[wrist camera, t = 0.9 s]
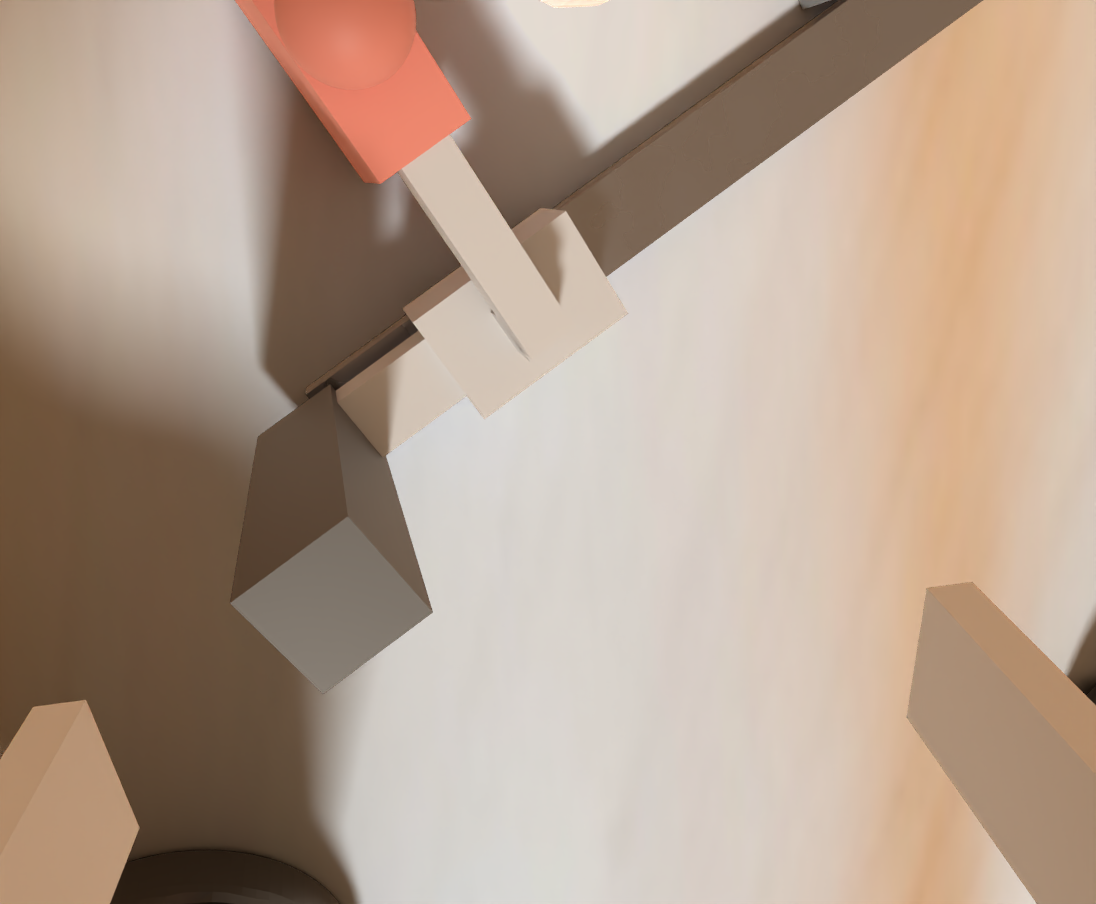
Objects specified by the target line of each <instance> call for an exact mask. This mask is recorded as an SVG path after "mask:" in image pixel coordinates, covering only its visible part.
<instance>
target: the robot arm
mask: <svg viewBox="0 0 1096 904" xmlns="http://www.w3.org/2000/svg"><path fill="white" fill-rule="evenodd" d="M907 719H908V720H909V721H910V723H911V724H912V726H913V727H914V729H915V730H916V731H917V733H918V734H919V736H920V737H921V739H922V740H923V741H924V743H925V744H926V746H927V747H928V749H929V750H930V751H931V753H932V754H933V756H934V757H935V759H936V760H937V761H938V763H939V764H940V766H941V767H942V769H943V770H944V771H945V773H946V774H947V776H948V777H949V779H950V780H951V781H952V783H953V784H954V786H955V787H956V789H957V790H958V791H959V793H960V794H961V796H962V797H963V799H964V800H965V801H966V803H967V804H968V806H969V807H970V809H971V810H972V812H973V813H974V814H975V816H976V817H977V819H978V820H979V822H980V823H981V824H982V826H983V827H984V829H985V830H986V832H987V833H988V834H989V836H990V837H991V839H992V840H993V842H994V843H995V844H996V846H997V847H998V849H999V850H1000V852H1001V853H1002V854H1003V856H1004V857H1005V859H1006V860H1007V862H1008V863H1009V864H1010V866H1011V867H1012V869H1013V870H1014V872H1015V873H1016V874H1017V876H1018V877H1019V879H1020V880H1021V882H1022V883H1023V884H1024V886H1025V887H1026V889H1027V890H1028V892H1029V893H1030V894H1031V896H1032V897H1033V899H1034V900H1035V902H1036V903H1037V904H1096V705H1095V704H1094V703H1093V702H1092V701H1091V700H1090V699H1089V698H1088V697H1087V696H1086V695H1085V694H1084V693H1083V692H1082V691H1081V690H1080V689H1079V688H1078V687H1077V686H1076V685H1075V684H1074V683H1073V682H1072V681H1071V680H1070V679H1069V678H1068V677H1067V676H1066V675H1065V674H1064V673H1063V672H1062V671H1061V670H1060V669H1059V668H1058V667H1057V666H1056V665H1055V664H1054V663H1053V662H1052V661H1051V660H1050V659H1049V658H1048V657H1047V656H1046V655H1045V654H1044V653H1043V652H1042V651H1041V650H1040V649H1039V648H1038V647H1037V646H1036V645H1035V644H1034V643H1033V642H1032V641H1031V640H1030V639H1029V638H1028V637H1027V636H1026V635H1025V634H1024V633H1023V632H1022V631H1021V630H1020V629H1019V628H1018V627H1017V626H1016V625H1015V624H1014V623H1013V622H1012V621H1011V620H1010V619H1009V618H1008V617H1007V616H1006V615H1005V614H1004V613H1003V612H1002V611H1001V610H1000V609H999V608H998V607H997V606H996V605H995V604H994V603H993V602H992V601H991V600H990V599H989V598H988V597H987V596H986V595H985V594H984V593H983V592H982V591H981V590H980V589H979V588H978V587H977V586H976V585H975V584H974V583H973V582H968V583H961V584H953V585H946V586H938V587H931V588H927V589H926V596H925V602H924V609H923V615H922V622H921V628H920V634H919V641H918V647H917V654H916V660H915V666H914V673H913V679H912V686H911V692H910V699H909V705H908V711H907ZM138 830H139V825H138V823H137V821H136V818H135V816H134V813H133V811H132V809H131V806H130V804H129V801H128V799H127V797H126V794H125V792H124V789H123V787H122V785H121V782H120V780H119V777H118V775H117V773H116V770H115V768H114V765H113V763H112V761H111V758H110V756H109V754H108V751H107V749H106V746H105V744H104V742H103V739H102V737H101V734H100V732H99V730H98V727H97V725H96V722H95V720H94V718H93V715H92V713H91V710H90V708H89V706H88V703H87V701H86V700H81V701H73V702H65V703H58V704H50V705H43V706H35V707H33V708H32V709H31V711H30V713H29V714H28V716H27V717H26V719H25V721H24V722H23V724H22V725H21V727H20V729H19V730H18V732H17V733H16V735H15V737H14V738H13V740H12V741H11V743H10V745H9V746H8V748H7V749H6V751H5V753H4V754H3V756H2V757H1V759H0V904H340V903H339V902H338V901H337V900H336V899H335V897H334V896H333V895H332V894H331V893H330V892H329V891H328V890H327V889H325V888H324V887H323V886H322V885H321V884H319V883H318V882H317V881H315V880H314V879H312V878H311V877H309V876H308V875H306V874H305V873H303V872H301V871H299V870H297V869H295V868H293V867H290V866H288V865H286V864H283V863H281V862H278V861H275V860H272V859H268V858H265V857H261V856H257V855H252V854H247V853H240V852H232V851H219V850H198V851H183V852H173V853H167V854H160V855H155V856H151V857H146V858H142V859H138V860H135V861H131V862H128V863H126V861H127V859H128V856H129V854H130V851H131V848H132V846H133V843H134V841H135V838H136V836H137V833H138Z"/></svg>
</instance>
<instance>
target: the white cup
mask: <svg viewBox="0 0 1096 904" xmlns="http://www.w3.org/2000/svg"><path fill="white" fill-rule="evenodd" d="M540 1H542V2H544V3H546V4H548V5H550V6H552V7H554V8H565V7H586V6H598V5H601V4H603V3H605V2H608V1H610V0H540Z"/></svg>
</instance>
